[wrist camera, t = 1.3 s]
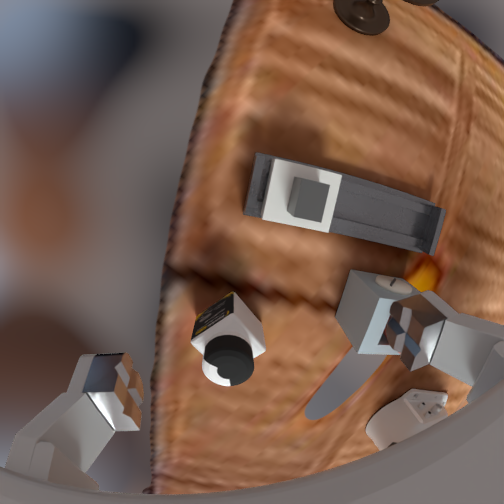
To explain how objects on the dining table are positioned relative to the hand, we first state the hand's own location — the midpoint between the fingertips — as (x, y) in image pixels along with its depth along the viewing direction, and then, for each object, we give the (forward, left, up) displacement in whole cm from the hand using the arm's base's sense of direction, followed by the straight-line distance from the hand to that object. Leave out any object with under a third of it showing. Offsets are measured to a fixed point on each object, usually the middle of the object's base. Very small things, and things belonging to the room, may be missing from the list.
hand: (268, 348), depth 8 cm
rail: (-14, -3, -31) cm, 35 cm away
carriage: (-6, -3, -29) cm, 30 cm away
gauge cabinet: (-22, +10, -31) cm, 40 cm away
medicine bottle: (-1, +17, -32) cm, 36 cm away
